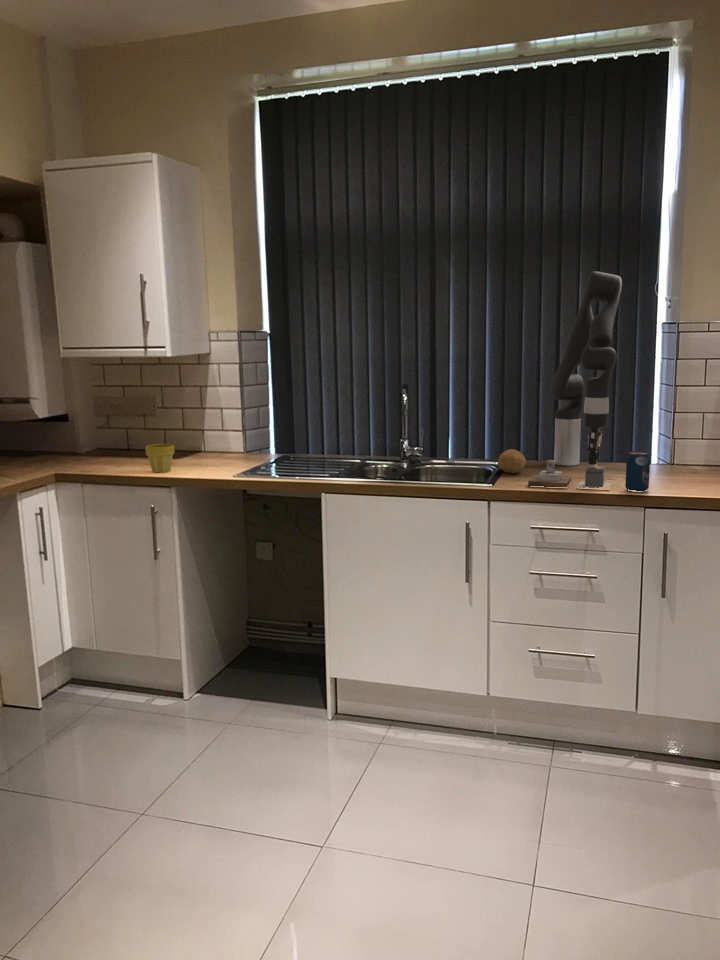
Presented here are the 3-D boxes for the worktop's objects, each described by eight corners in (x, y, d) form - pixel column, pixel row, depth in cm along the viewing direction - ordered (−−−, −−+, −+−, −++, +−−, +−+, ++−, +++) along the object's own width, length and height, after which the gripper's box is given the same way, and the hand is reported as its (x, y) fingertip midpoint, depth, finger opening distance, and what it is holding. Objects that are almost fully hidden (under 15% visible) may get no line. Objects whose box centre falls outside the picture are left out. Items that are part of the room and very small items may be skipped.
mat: (580, 483, 266) (580, 481, 266) (611, 485, 262) (611, 483, 262) (576, 489, 257) (576, 487, 257) (609, 491, 253) (609, 489, 253)
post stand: (534, 480, 272) (535, 457, 271) (571, 482, 268) (571, 458, 266) (528, 487, 261) (529, 462, 260) (566, 489, 257) (567, 464, 255)
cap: (604, 484, 261) (605, 464, 260) (602, 487, 256) (603, 467, 255) (586, 483, 263) (587, 463, 262) (584, 486, 258) (585, 466, 257)
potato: (497, 476, 281) (497, 453, 279) (498, 469, 294) (498, 447, 293) (525, 476, 279) (526, 454, 278) (525, 469, 293) (526, 448, 291)
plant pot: (153, 468, 308) (152, 443, 306) (179, 469, 307) (178, 443, 305) (142, 473, 298) (140, 447, 296) (169, 473, 297) (167, 447, 295)
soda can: (648, 493, 249) (650, 454, 246) (624, 492, 251) (626, 454, 249) (649, 489, 255) (650, 451, 253) (625, 488, 257) (627, 450, 255)
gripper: (606, 414, 247) (603, 466, 250) (610, 409, 260) (608, 458, 263) (581, 413, 250) (579, 465, 253) (586, 408, 263) (584, 457, 266)
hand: (593, 461), depth 258 cm, fingers open, 8 cm apart
